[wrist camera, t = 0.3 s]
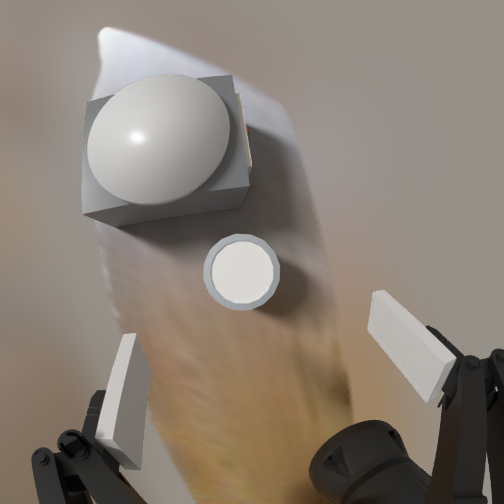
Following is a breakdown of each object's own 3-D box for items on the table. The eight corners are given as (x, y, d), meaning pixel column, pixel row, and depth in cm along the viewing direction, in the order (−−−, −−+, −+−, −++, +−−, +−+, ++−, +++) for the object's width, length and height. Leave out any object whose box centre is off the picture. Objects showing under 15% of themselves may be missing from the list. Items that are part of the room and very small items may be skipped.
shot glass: (260, 307, 32) (271, 318, 25) (200, 293, 31) (195, 301, 24) (273, 248, 32) (288, 243, 25) (214, 234, 31) (213, 225, 24)
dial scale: (250, 211, 32) (264, 187, 22) (116, 231, 30) (77, 218, 20) (235, 113, 32) (242, 64, 22) (113, 133, 30) (84, 93, 20)
